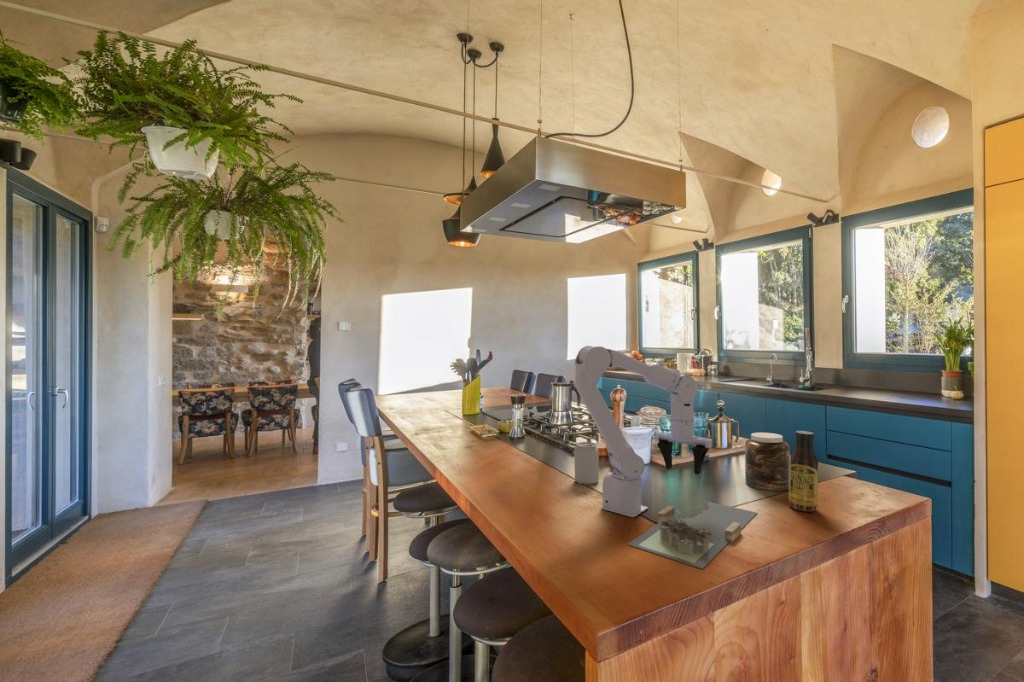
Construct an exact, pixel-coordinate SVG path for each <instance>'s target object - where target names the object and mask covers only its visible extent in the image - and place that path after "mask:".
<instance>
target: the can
mask: <svg viewBox="0 0 1024 682" xmlns="http://www.w3.org/2000/svg"><path fill="white" fill-rule="evenodd" d="M575 445H576V446H575V447H574V451H573V452H574V458H573V459H574V480H575V481H576V483H578V484H579V485H583V484H584V485H585V486H591V485H596V484H597V482H599V481H600V470H599V466H600V465H599V464H600V463H599V460H600V459H599V448H598V446H597V443H595V442H591V441H590V442H589V441H580V442H577V443H575Z"/></svg>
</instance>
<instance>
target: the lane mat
mask: <svg viewBox="0 0 1024 682" xmlns="http://www.w3.org/2000/svg"><path fill="white" fill-rule="evenodd" d="M703 501H704V502H707V503H708V504H707V505H708V506H709V507H708V510H703V511H702V514H699V515H697V516H695V517H693V518H688V517H687V518H686V519H684V518H683V519H682V518H681V517H682V516H681V517H680V518H678V516H677V515H676V513H675V517H674V518H673V521H674V520H677V522H680V521H681V520H682V521H684V522H685V523H686V525H690V526H694V527H695V528H696V529H698V528H699V529H701V530H703V529H704V530H707V531H709V532H710V533H711V535H712V536H710V537H709V538H708V540H709V546H708V553H702V552H698V551H697V552H693V555H688V554H683V553H679V552H678V547H675V546H670V545H669V540H665V539H664V540H663V539H661V538H660V527H661V526H660V524H658V523H659V522H657V523H656V524H655V525H653V526H652V527H650V528H648V529H647V530H646V531H644V532H643V533H642V534H640V535H638V536H637V537H636V538H634V539H633V540H632V541H630V542H629V543H627V546H630V547H633V548H636V549H639V550H642V551H645V552H648V553H651V554H655V555H657V556H661V557H664V558H666V559H669V560H673V561H676V562H679V563H682V564H685V565H688V566H691V567H694V568H698V569H700V570H704V569H705V568H706V567H707V566H708V564H710V563H711V562H712V561H713V559H714V558H715V557H717V556H718V555H719V553H720V552H722V550H724V548H725V547H727V546H728V545H729V543H731V542H730V540H726V539H725V530H726V529H727V528H728V527H729V526H730V525H731V524H732V523H733V522H736V523H741V531H742V530H743V529H744V528H745V527H746V526H747V525H748V524H749V523H750V522H751V521H752V520H753V519H754V517H756V515H758V512H757V511H756V512H755V511H752V510H747V509H742V508H738V507H734V506H731V505H730V506H728V505H725V504H721V503H716V502H710V501H706V500H703ZM675 511H676V512H677V513H678V514H680V512H679V511H678V509H675ZM699 512H700V511H699ZM680 515H681V514H680ZM685 537H686V538H687V536H685Z"/></svg>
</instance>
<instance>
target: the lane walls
mask: <svg viewBox="0 0 1024 682" xmlns="http://www.w3.org/2000/svg"><path fill="white" fill-rule="evenodd" d="M675 511H676V509H675V506H671V505H668V506H667V507H665V508H663V509H661V510H660V511H659V512H657V521H658V520H660V521H665V520H668V519H670V518H671V517H673V516H674V515H675ZM741 534H742V530H741V523H736V522H733V523H732V524H731V525H730V526H729V527H728V528H727V529H726V530H725V539H726V540H730V542H729V543H733V542H734V541H735V540H737V538H738V537H739V536H740V535H741Z"/></svg>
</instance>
